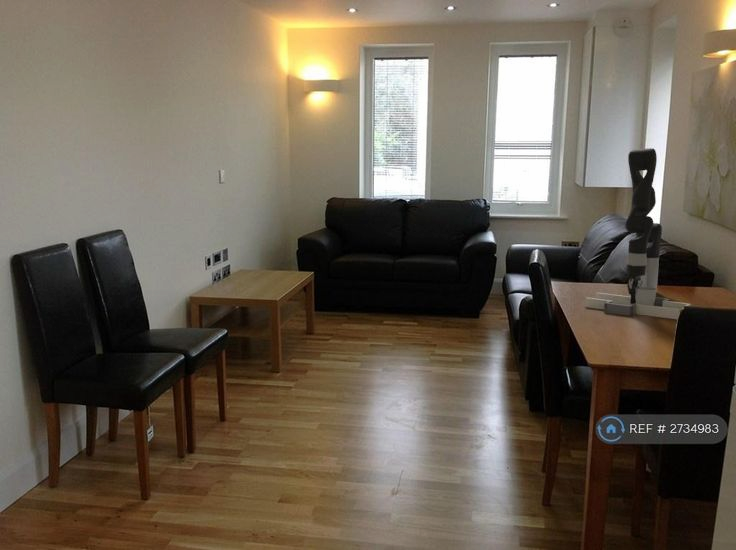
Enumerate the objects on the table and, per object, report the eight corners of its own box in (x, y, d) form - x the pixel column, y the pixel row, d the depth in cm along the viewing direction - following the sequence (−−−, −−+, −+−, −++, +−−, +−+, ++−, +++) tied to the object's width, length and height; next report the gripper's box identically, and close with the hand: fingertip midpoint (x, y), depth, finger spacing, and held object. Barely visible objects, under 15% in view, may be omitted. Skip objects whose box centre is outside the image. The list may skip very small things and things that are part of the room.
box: (600, 299, 294) (601, 290, 294) (693, 310, 271) (693, 301, 270) (580, 309, 275) (581, 300, 275) (678, 322, 252) (679, 312, 251)
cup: (656, 311, 271) (658, 287, 269) (652, 314, 265) (654, 291, 263) (636, 308, 276) (637, 285, 274) (631, 312, 269) (633, 288, 267)
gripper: (632, 260, 278) (629, 299, 281) (622, 264, 268) (619, 305, 271) (650, 262, 273) (647, 302, 276) (641, 266, 263) (637, 307, 266)
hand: (633, 303), depth 274 cm, fingers closed
